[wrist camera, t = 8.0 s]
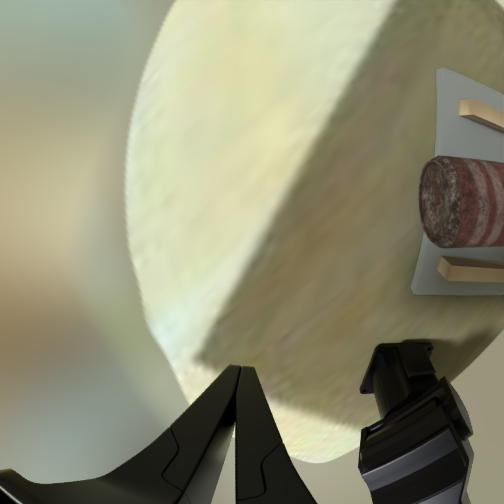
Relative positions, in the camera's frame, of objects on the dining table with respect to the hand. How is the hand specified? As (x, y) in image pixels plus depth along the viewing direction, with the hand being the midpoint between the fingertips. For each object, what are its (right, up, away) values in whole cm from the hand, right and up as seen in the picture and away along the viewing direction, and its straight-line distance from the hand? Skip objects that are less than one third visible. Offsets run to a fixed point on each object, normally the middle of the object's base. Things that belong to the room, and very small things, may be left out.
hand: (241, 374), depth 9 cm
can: (+12, +7, +7) cm, 15 cm away
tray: (+21, +9, +8) cm, 24 cm away
